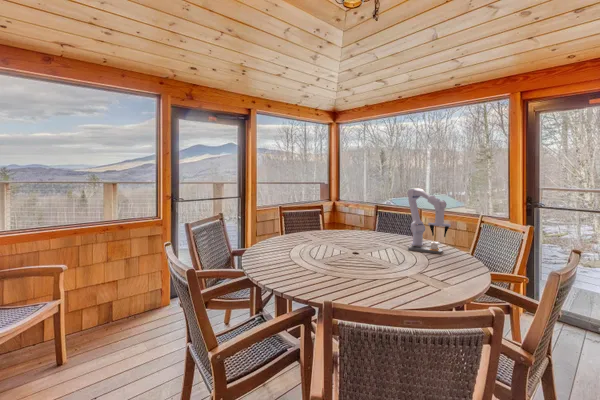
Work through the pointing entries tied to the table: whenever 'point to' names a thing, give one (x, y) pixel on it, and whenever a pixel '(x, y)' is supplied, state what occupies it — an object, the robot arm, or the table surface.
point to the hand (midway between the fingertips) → (438, 236)
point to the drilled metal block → (434, 245)
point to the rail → (424, 249)
